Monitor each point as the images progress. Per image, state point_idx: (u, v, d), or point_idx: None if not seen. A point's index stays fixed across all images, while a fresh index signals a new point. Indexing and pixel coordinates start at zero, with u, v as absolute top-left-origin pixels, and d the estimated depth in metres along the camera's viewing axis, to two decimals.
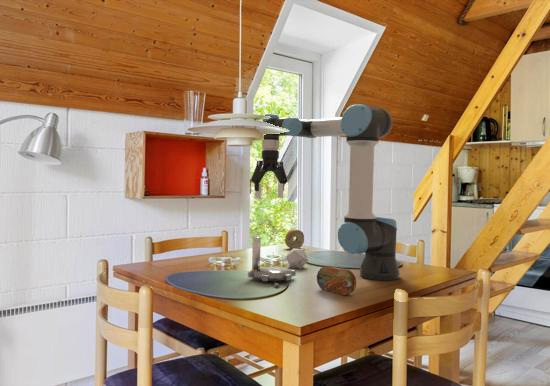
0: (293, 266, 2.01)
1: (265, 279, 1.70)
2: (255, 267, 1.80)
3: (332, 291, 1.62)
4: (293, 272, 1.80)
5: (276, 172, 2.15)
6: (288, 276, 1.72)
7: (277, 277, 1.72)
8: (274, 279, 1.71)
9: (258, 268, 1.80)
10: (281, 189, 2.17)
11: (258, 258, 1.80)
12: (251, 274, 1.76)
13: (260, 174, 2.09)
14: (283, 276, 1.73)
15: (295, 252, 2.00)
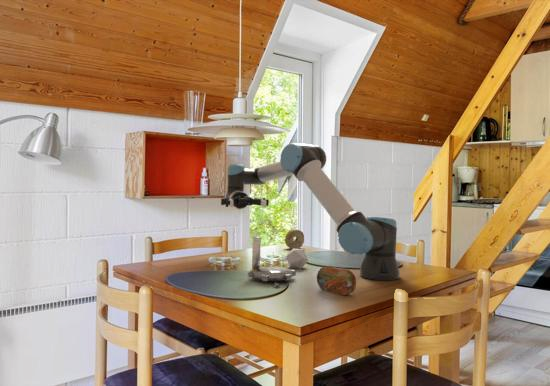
0: (293, 266, 2.01)
1: (265, 279, 1.70)
2: (255, 267, 1.80)
3: (332, 291, 1.62)
4: (293, 272, 1.80)
5: (251, 200, 2.07)
6: (288, 276, 1.72)
7: (277, 277, 1.72)
8: (274, 279, 1.71)
9: (258, 268, 1.80)
10: (262, 201, 2.01)
11: (258, 258, 1.80)
12: (251, 274, 1.76)
13: None
14: (283, 276, 1.73)
15: (295, 252, 2.00)
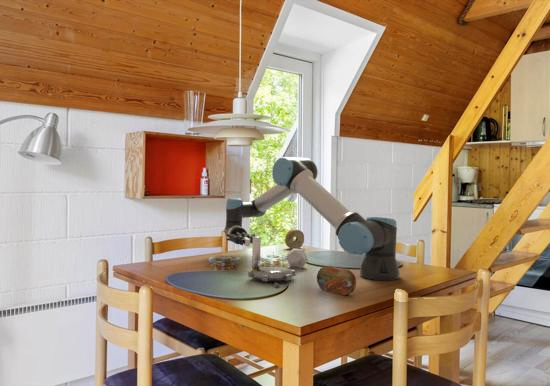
0: (293, 266, 2.01)
1: (265, 279, 1.70)
2: (255, 267, 1.80)
3: (332, 291, 1.62)
4: (293, 272, 1.80)
5: (243, 236, 2.07)
6: (288, 276, 1.72)
7: (277, 277, 1.72)
8: (274, 279, 1.71)
9: (258, 268, 1.80)
10: (246, 239, 1.98)
11: (258, 258, 1.80)
12: (251, 274, 1.76)
13: None
14: (283, 276, 1.73)
15: (295, 252, 2.00)
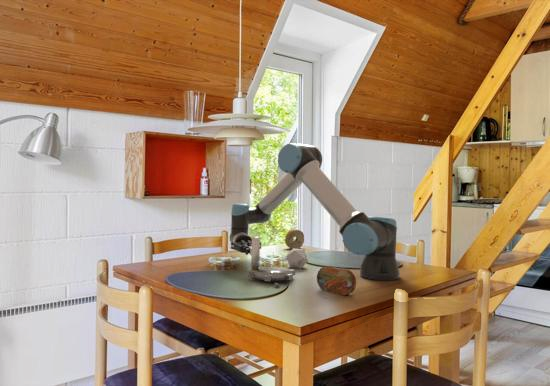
0: (293, 266, 2.01)
1: (268, 279, 1.70)
2: (255, 267, 1.79)
3: (332, 291, 1.62)
4: (292, 271, 1.81)
5: (249, 245, 1.95)
6: (290, 276, 1.73)
7: (280, 277, 1.72)
8: (276, 279, 1.72)
9: (258, 268, 1.80)
10: (251, 248, 1.86)
11: (258, 258, 1.79)
12: (251, 274, 1.75)
13: None
14: (285, 276, 1.73)
15: (295, 252, 2.00)
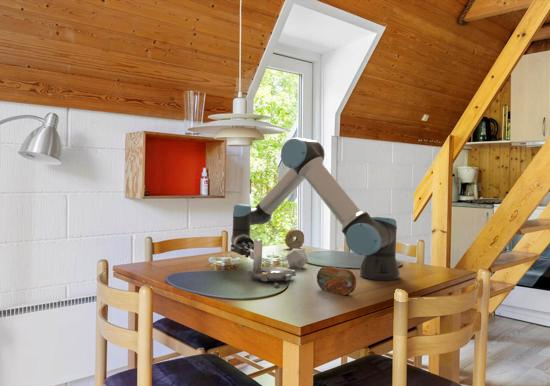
0: (293, 266, 2.01)
1: (289, 278, 1.73)
2: (260, 270, 1.74)
3: (332, 291, 1.62)
4: None
5: (249, 247, 1.89)
6: None
7: (291, 274, 1.77)
8: (290, 277, 1.76)
9: None
10: (250, 251, 1.79)
11: (261, 261, 1.75)
12: (267, 277, 1.71)
13: (244, 249, 1.86)
14: (292, 272, 1.79)
15: (295, 252, 2.00)
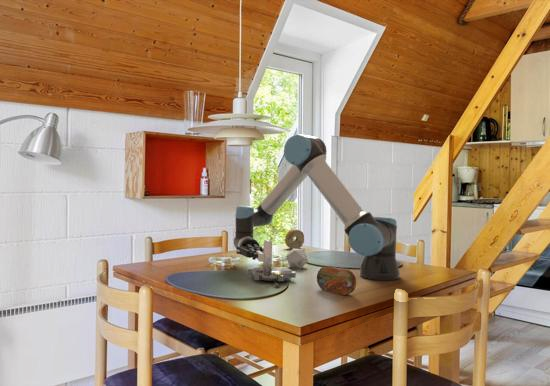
0: (293, 266, 2.01)
1: (295, 275, 1.78)
2: (271, 271, 1.73)
3: (332, 291, 1.62)
4: None
5: (255, 249, 1.84)
6: None
7: None
8: None
9: None
10: (259, 253, 1.75)
11: None
12: None
13: None
14: None
15: (295, 252, 2.00)
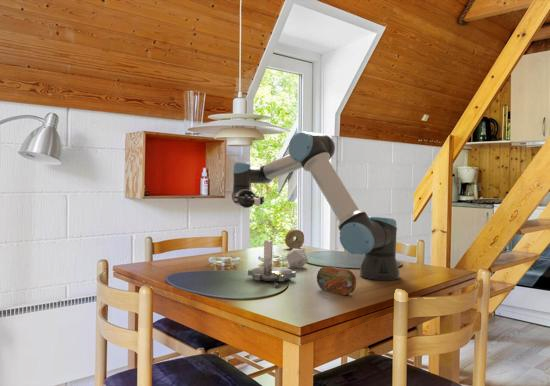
0: (293, 266, 2.01)
1: (295, 275, 1.78)
2: (271, 271, 1.73)
3: (332, 291, 1.62)
4: None
5: (252, 198, 2.00)
6: None
7: None
8: None
9: None
10: None
11: None
12: None
13: None
14: None
15: (295, 252, 2.00)
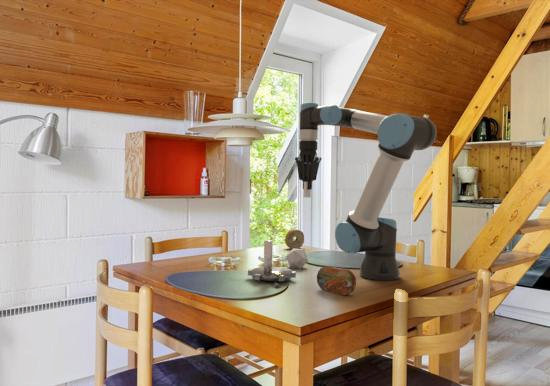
0: (293, 266, 2.01)
1: (295, 275, 1.78)
2: (271, 271, 1.73)
3: (332, 291, 1.62)
4: None
5: None
6: None
7: None
8: None
9: None
10: None
11: None
12: None
13: None
14: None
15: (295, 252, 2.00)
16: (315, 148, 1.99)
